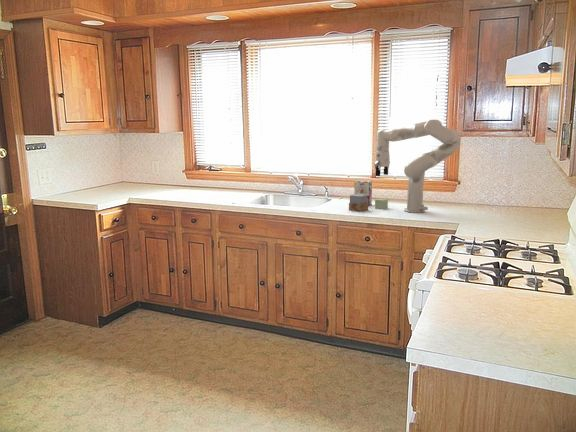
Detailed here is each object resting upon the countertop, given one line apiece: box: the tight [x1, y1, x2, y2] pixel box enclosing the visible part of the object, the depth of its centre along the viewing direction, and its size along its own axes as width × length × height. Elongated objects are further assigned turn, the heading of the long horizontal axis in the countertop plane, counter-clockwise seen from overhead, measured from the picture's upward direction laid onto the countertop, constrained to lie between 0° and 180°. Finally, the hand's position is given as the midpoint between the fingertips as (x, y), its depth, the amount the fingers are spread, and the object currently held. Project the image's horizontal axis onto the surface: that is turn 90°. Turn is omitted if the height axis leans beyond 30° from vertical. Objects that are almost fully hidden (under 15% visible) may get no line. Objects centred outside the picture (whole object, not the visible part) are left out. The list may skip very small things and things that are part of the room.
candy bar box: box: [354, 180, 373, 207], centre depth 347 cm, size 11×5×16 cm, turn 62°
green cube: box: [374, 198, 389, 210], centre depth 334 cm, size 6×6×6 cm
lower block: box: [348, 202, 369, 213], centre depth 329 cm, size 9×9×5 cm
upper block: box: [349, 193, 367, 204], centre depth 328 cm, size 8×8×5 cm
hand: (381, 175), depth 331 cm, fingers open, 9 cm apart
